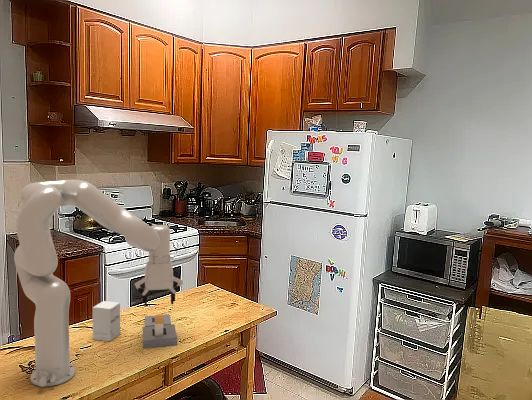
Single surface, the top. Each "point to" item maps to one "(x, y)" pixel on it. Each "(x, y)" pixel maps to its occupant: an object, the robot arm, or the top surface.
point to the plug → (158, 325)
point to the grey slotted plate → (151, 319)
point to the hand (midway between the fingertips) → (159, 303)
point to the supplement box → (106, 320)
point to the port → (159, 337)
